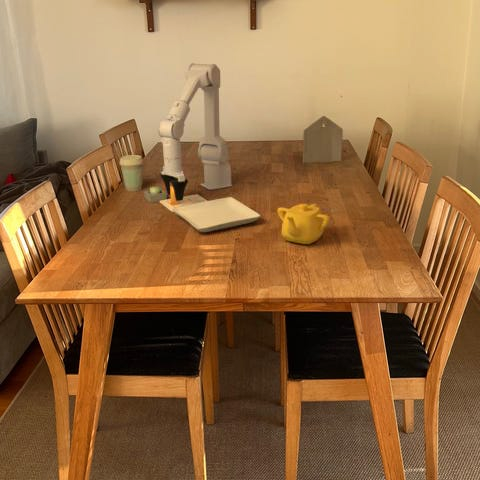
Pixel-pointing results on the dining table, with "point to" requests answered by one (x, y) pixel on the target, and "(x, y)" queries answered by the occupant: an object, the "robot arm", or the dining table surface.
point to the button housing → (155, 196)
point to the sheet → (183, 201)
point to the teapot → (303, 223)
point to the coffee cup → (132, 172)
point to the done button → (154, 190)
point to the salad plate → (216, 214)
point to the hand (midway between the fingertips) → (175, 197)
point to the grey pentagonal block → (322, 142)
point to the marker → (173, 196)
